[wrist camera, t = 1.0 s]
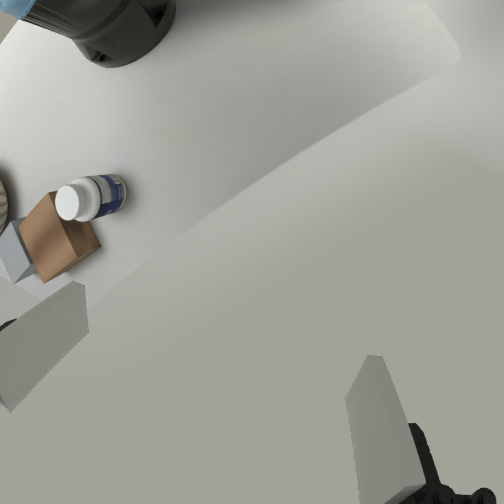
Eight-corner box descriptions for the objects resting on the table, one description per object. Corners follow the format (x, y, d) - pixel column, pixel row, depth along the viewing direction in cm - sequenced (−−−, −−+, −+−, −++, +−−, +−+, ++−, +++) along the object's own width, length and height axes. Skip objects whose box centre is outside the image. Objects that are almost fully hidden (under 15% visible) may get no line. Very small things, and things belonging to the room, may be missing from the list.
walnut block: (42, 219, 39) (17, 226, 33) (74, 187, 37) (48, 192, 31) (66, 271, 41) (43, 283, 35) (102, 245, 39) (77, 257, 33)
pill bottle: (102, 216, 37) (57, 231, 28) (93, 181, 36) (46, 188, 26) (131, 206, 36) (88, 219, 27) (122, 168, 35) (76, 172, 25)
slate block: (17, 236, 41) (-5, 244, 35) (35, 214, 39) (10, 221, 33) (34, 272, 42) (13, 284, 36) (53, 254, 40) (30, 264, 35)
